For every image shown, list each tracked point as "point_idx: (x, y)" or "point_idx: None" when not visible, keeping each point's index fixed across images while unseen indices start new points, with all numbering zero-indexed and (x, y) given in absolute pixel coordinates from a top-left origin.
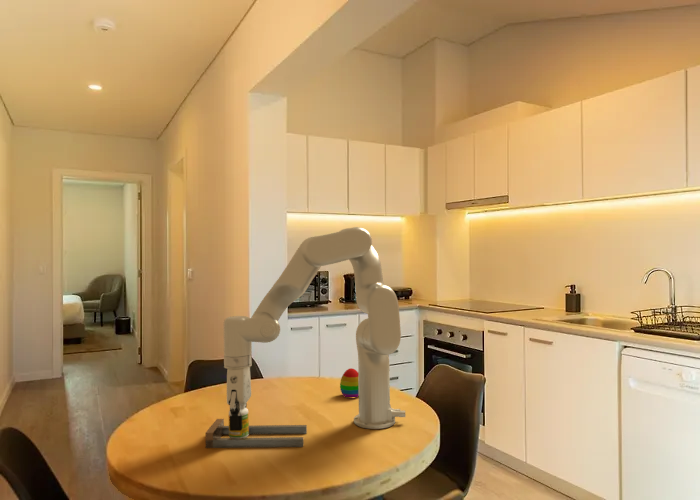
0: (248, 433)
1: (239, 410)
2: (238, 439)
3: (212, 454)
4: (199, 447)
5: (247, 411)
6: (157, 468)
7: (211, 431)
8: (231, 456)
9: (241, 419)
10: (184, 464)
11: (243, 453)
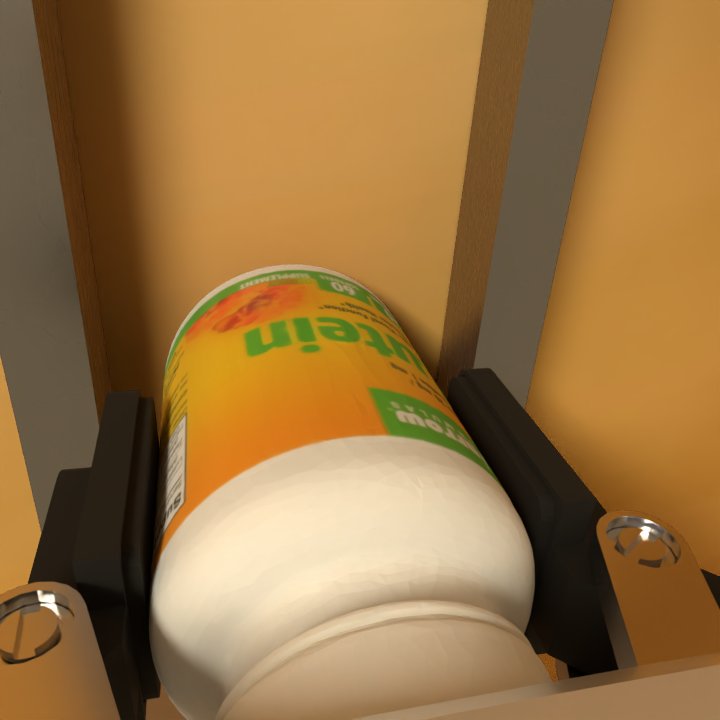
0: (289, 271)
1: (706, 607)
2: (527, 336)
3: (601, 464)
4: None
5: (407, 470)
6: None
7: None
8: (691, 306)
9: (560, 456)
10: (709, 563)
11: (661, 211)
